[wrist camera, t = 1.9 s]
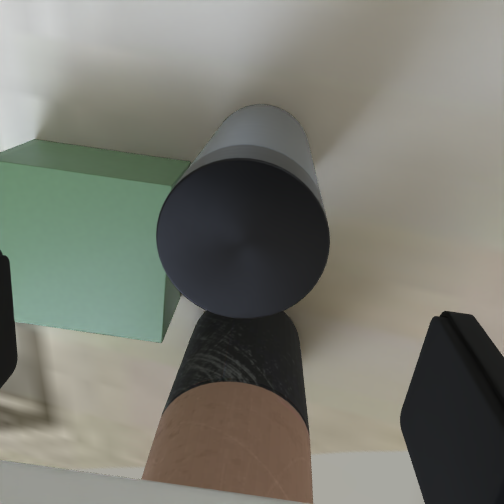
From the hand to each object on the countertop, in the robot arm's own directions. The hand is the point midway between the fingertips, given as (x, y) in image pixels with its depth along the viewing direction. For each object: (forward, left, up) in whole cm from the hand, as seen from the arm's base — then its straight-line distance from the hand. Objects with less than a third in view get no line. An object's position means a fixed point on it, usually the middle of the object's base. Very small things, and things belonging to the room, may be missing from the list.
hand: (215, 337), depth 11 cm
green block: (+8, -6, -18) cm, 20 cm away
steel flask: (0, 0, -18) cm, 18 cm away
